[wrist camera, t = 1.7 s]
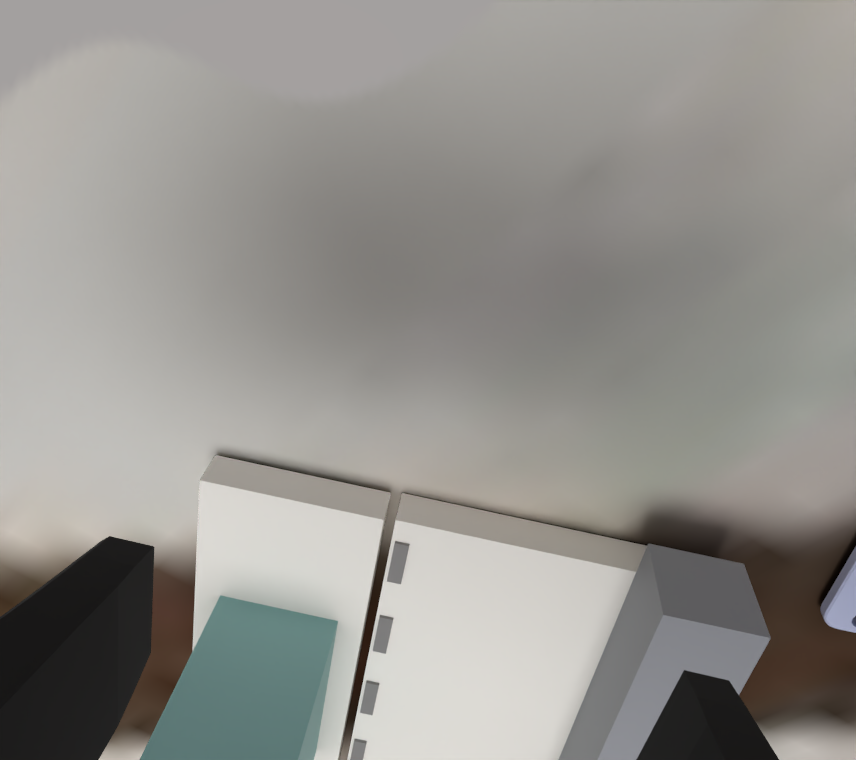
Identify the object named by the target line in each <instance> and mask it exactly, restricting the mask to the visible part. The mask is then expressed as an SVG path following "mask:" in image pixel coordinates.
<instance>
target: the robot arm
mask: <svg viewBox="0 0 856 760" xmlns="http://www.w3.org/2000/svg"><path fill="white" fill-rule="evenodd" d="M153 567H154V547H153V546H149V545H145V544H140V543H136V542H132V541H128V540H123V539H119V538H115V537H110V536H109V537H108V538H106V539H104V540H102V541H101V542H99V543H98V544H97V545H95V546H94V547H93V548H92V549H90V550H89V551H88V552H86V553H85V554H84V555H82V556H81V557H80V558H78V559H77V560H76V561H75V562H73V563H72V564H71V565H69V566H68V567H67V568H65V569H64V570H63V571H62V572H60V573H59V574H58V575H56V576H55V577H54V578H52V579H51V580H50V581H48V582H47V583H46V584H44V585H43V586H42V587H40V588H39V589H38V590H36V591H35V592H34V593H32V594H31V595H30V596H28V597H27V598H26V599H24V600H23V601H22V602H20V603H19V604H18V605H16V606H15V607H13V608H12V609H11V610H9V611H8V612H7V613H5V614H4V615H2V616H1V617H0V760H98V759H99V758H100V756H101V754H102V753H103V751H104V749H105V747H106V746H107V744H108V742H109V740H110V739H111V737H112V735H113V733H114V732H115V730H116V728H117V726H118V724H119V722H120V720H121V718H122V716H123V714H124V711H125V709H126V707H127V705H128V703H129V701H130V698H131V696H132V694H133V692H134V690H135V687H136V685H137V683H138V680H139V678H140V676H141V674H142V671H143V669H144V667H145V664H146V662H147V660H148V658H149V655H150V653H151V628H152V597H153ZM820 610H821V614H822V616H823V618H824V620H825V622H826V623H827V624H828V625H829V626H830V627H833V628H835V629H840V630H845V631H849V632H854V633H856V617H855V616H856V547H855V548H854V550H853V552H852V553H851V555H850V557H849V558H848V560H847V562H846V564H845V565H844V567H843V569H842V570H841V572H840V574H839V575H838V577H837V579H836V580H835V582H834V584H833V586H832V587H831V589H830V591H829V592H828V594H827V596H826V597H825V599H824V601H823V603H822V605H821V608H820ZM636 760H779V759H778V757H777V756H776V754H775V753H774V751H773V749H772V748H771V746H770V745H769V743H768V741H767V740H766V738H765V737H764V735H763V733H762V732H761V730H760V729H759V727H758V725H757V724H756V722H755V721H754V719H753V717H752V716H751V714H750V713H749V711H748V709H747V708H746V706H745V705H744V703H743V701H742V700H741V698H740V697H739V695H738V693H737V692H736V690H735V689H734V687H733V686H732V684H731V683H730V681H729V680H725V679H721V678H716V677H712V676H708V675H703V674H699V673H695V672H690V671H686V670H684V671H683V673H682V675H681V677H680V679H679V680H678V682H677V684H676V686H675V688H674V690H673V692H672V694H671V695H670V697H669V699H668V701H667V703H666V705H665V707H664V709H663V710H662V712H661V714H660V716H659V718H658V720H657V722H656V724H655V726H654V727H653V729H652V731H651V733H650V735H649V737H648V739H647V741H646V742H645V744H644V746H643V748H642V750H641V752H640V754H639V756H638V758H637V759H636Z"/></svg>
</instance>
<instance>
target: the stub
mask: <svg viewBox="0 0 856 760" xmlns="http://www.w3.org/2000/svg"><path fill="white" fill-rule="evenodd" d="M390 495H391V493H389V492H385V491H380V490H376V489H371V488H366V487H362V486H357V485H352V484H348V483H343V482H338V481H334V480H329V479H324V478H320V477H315V476H311V475H306V474H301V473H297V472H292V471H287V470H283V469H278V468H273V467H269V466H264V465H259V464H255V463H250V462H246V461H241V460H236V459H232V458H227V457H222V456H218V455H215V457H214V458H213V460H212V461H211V463H210V464H209V466H208V468H207V469H206V471H205V472H204V474H203V475H202V477H201V479H200V480H199V504H198V529H197V553H196V578H195V603H194V627H193V652H192V654H191V656H190V658H189V660H188V662H187V664H186V666H185V668H184V670H183V672H182V674H181V676H180V679H179V681H178V683H177V685H176V687H175V689H174V691H173V693H172V695H171V697H170V699H169V701H168V703H167V705H166V707H165V709H164V711H163V713H162V715H161V717H160V719H159V721H158V723H157V726H156V728H155V730H154V732H153V734H152V736H151V738H150V740H149V742H148V744H147V746H146V748H145V750H144V752H143V754H142V756H141V758H140V760H339V759H340V754H341V748H342V743H343V738H344V733H345V728H346V723H347V717H348V712H349V707H350V702H351V697H352V692H353V686H354V681H355V676H356V671H357V666H358V661H359V655H360V650H361V645H362V640H363V635H364V630H365V624H366V619H367V614H368V609H369V604H370V599H371V593H372V588H373V583H374V578H375V573H376V568H377V562H378V557H379V552H380V547H381V542H382V536H383V531H384V526H385V521H386V516H387V511H388V505H389V500H390Z"/></svg>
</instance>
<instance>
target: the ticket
mask: <svg viewBox="0 0 856 760" xmlns="http://www.w3.org/2000/svg"><path fill="white" fill-rule="evenodd" d="M770 639H771V637H770V635H769V632H768V629H767V626H766V624H765V621H764V618H763V615H762V613H761V610H760V607H759V604H758V602H757V599H756V596H755V593H754V591H753V588H752V585H751V582H750V580H749V577H748V574H747V571H746V569H745V566H744V564H742V563H737V562H733V561H728V560H723V559H719V558H714V557H709V556H705V555H700V554H695V553H691V552H686V551H682V550H677V549H672V548H668V547H663V546H658V545H654V544H649V543H648V545H647V546H646V545H641V544H637V543H632V542H628V541H623V540H618V539H614V538H609V537H604V536H600V535H595V534H590V533H586V532H581V531H576V530H572V529H567V528H563V527H558V526H553V525H549V524H544V523H539V522H535V521H530V520H525V519H521V518H516V517H511V516H507V515H502V514H497V513H493V512H488V511H484V510H479V509H474V508H470V507H465V506H460V505H456V504H451V503H446V502H442V501H437V500H432V499H428V498H423V497H419V496H414V495H409V494H405V493H402V495H401V499H400V504H399V508H398V512H397V516H396V520H395V525H394V530H393V535H392V540H391V545H390V550H389V555H388V560H387V565H386V570H385V575H384V580H383V585H382V590H381V595H380V600H379V605H378V610H377V615H376V620H375V625H374V630H373V634H372V639H371V644H370V649H369V654H368V659H367V664H366V669H365V674H364V679H363V684H362V689H361V694H360V699H359V704H358V709H357V714H356V719H355V724H354V729H353V734H352V739H351V744H350V749H349V754H348V759H347V760H636V759H637V758H638V756H639V754H640V752H641V750H642V748H643V746H644V744H645V742H646V741H647V739H648V737H649V735H650V733H651V731H652V729H653V727H654V726H655V724H656V722H657V720H658V718H659V716H660V714H661V712H662V710H663V709H664V707H665V705H666V703H667V701H668V699H669V697H670V695H671V694H672V692H673V690H674V688H675V686H676V684H677V682H678V680H679V679H680V677H681V675H682V673H683V671H684V670H686V671H690V672H695V673H699V674H703V675H708V676H712V677H716V678H721V679H725V680H729V681H730V683H731V684H732V686H733V687H734V689H735V690H736V692H737V693H738V695H739V694H740V692H741V690H742V688H743V687H744V685H745V683H746V681H747V680H748V678H749V676H750V674H751V672H752V671H753V669H754V667H755V665H756V663H757V662H758V660H759V658H760V656H761V655H762V653H763V651H764V649H765V647H766V646H767V644H768V642H769V640H770Z"/></svg>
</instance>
